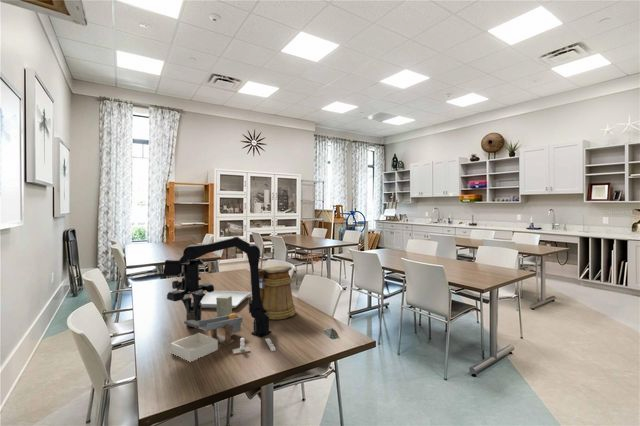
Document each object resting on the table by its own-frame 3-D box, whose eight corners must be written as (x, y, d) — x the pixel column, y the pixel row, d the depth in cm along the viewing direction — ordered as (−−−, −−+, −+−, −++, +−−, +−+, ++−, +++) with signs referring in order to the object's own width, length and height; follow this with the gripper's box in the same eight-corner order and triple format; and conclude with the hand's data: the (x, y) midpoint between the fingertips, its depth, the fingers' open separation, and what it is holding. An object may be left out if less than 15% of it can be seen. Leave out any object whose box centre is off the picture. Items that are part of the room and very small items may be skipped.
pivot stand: (216, 335, 138) (216, 318, 138) (233, 341, 132) (233, 324, 132) (208, 338, 135) (208, 321, 134) (225, 345, 129) (225, 327, 128)
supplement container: (201, 327, 147) (201, 305, 146) (185, 329, 144) (185, 307, 144) (201, 322, 153) (201, 301, 153) (186, 324, 150) (186, 302, 150)
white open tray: (217, 349, 125) (217, 339, 124) (189, 362, 114) (189, 351, 114) (198, 342, 131) (198, 332, 131) (170, 353, 121) (170, 343, 121)
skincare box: (232, 320, 156) (232, 296, 156) (227, 323, 152) (227, 298, 151) (221, 319, 158) (221, 294, 157) (216, 322, 153) (216, 297, 153)
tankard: (299, 317, 160) (300, 269, 160) (252, 323, 152) (253, 272, 152) (290, 307, 177) (291, 262, 177) (248, 311, 169) (248, 265, 169)
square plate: (252, 297, 197) (252, 291, 196) (236, 312, 169) (236, 304, 169) (210, 295, 199) (210, 289, 199) (188, 310, 172) (188, 302, 172)
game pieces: (234, 359, 118) (234, 343, 118) (230, 344, 130) (230, 331, 130) (341, 340, 135) (342, 327, 135) (329, 329, 147) (329, 317, 147)
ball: (238, 322, 139) (239, 313, 139) (232, 322, 136) (233, 314, 136) (232, 320, 141) (234, 312, 141) (226, 320, 138) (228, 312, 138)
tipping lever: (218, 323, 147) (219, 310, 148) (241, 330, 138) (242, 317, 139) (183, 330, 132) (184, 316, 133) (206, 339, 123) (208, 324, 124)
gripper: (199, 269, 145) (199, 302, 145) (159, 276, 129) (159, 314, 129) (214, 272, 138) (214, 307, 139) (174, 280, 123) (175, 320, 123)
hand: (191, 312), depth 133 cm, fingers open, 3 cm apart
